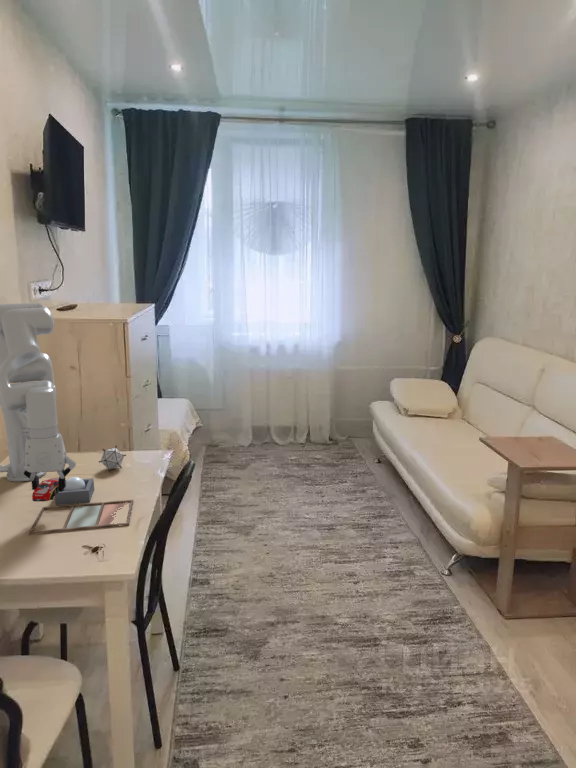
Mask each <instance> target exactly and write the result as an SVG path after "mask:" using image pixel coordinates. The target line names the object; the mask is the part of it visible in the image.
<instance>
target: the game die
mask: <svg viewBox="0 0 576 768" xmlns="http://www.w3.org/2000/svg"><path fill="white" fill-rule="evenodd" d="M114 446H115V447H113V448H108V449H105V448H102V451H103V453H102V456H101V459H100V460H99V461H98V463H101V464H102V465H104V467H106V468H107V472H108V473H109V472H110V471H111V470H112V469H117V468H120V469H122V468H123V467H122V463H123V460H124V457H126V456H127V454H123V452H121V451H120V450H119V449H118V446H117V445H114Z"/></svg>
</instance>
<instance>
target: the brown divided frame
mask: <svg viewBox="0 0 576 768" xmlns="http://www.w3.org/2000/svg"><path fill="white" fill-rule="evenodd" d="M125 502H129V503H125ZM123 503H124V504H123ZM127 504H130V508H129V514H128V519H127V523H117V524H114V523H113V524H110V523H111V522H112V521H113V520H114V517H112V516H114V515H116V513H115V514H114V512H117V510H120V509H122V508H120V507H124V505H127ZM133 505H134V499H125V500H123V499H122V500H114V501H101V502H90V503H78V504H66V505H54V506H43V507H41V510H40V511H39V513H38V515H37V516H36V518H35V521H34V522H33V524H32V526H31V528H30V529H29V531H28V535H39V534H50V533H60V532H71V531H80V530H81V531H82V530H83V531H84V530H90V529H91V530H94V529H103V528H113V527H112V526H116V527H120V526H119V525H127V526H130V524H129V523H130V522H131V518H132V517H131V516H132V512H131V511H133V507H134V506H133ZM132 506H133V507H132ZM68 508H69V509H70V510H69V512H68V515H67V517H66V519H65V521H64V524H63V526H62V528H54V529H44V530H43V529H42V530H35V528H36V526H37V525H38V523H39V521H40V519H41V518H42V515H43V513H44V511H46V510H57V509H68ZM118 508H120V509H118ZM116 509H117V510H116ZM111 514H113V515H111ZM115 517H116V516H115ZM130 517H131V518H130Z"/></svg>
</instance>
